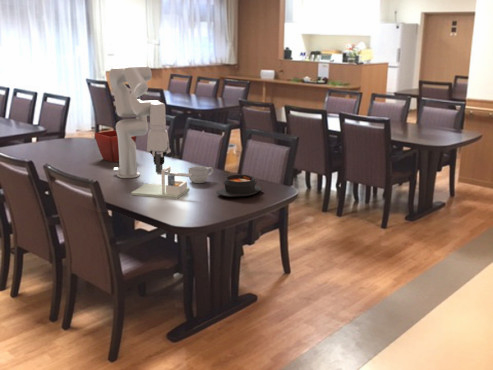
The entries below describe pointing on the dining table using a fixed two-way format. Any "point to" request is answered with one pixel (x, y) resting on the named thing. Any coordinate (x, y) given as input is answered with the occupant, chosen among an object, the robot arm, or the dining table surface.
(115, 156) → the plant pot
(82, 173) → the dining table surface
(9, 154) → the dining table surface
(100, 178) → the dining table surface
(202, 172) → the teacup
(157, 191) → the cream platform with frame
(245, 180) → the casserole
